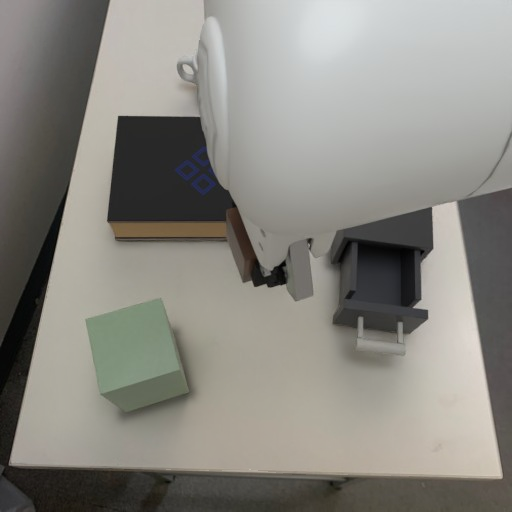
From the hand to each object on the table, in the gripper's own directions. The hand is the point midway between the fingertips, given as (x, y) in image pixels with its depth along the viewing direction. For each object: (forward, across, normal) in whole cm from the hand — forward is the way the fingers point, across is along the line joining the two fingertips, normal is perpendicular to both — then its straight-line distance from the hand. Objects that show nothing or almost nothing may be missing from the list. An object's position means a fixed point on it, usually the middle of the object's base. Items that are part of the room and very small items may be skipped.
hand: (260, 249), depth 41 cm
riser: (+27, 0, +13) cm, 30 cm away
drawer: (+26, -1, -18) cm, 32 cm away
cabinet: (+27, +10, -23) cm, 37 cm away
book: (+27, +23, -1) cm, 36 cm away
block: (0, 0, 0) cm, 0 cm away
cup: (+27, +41, -8) cm, 50 cm away
